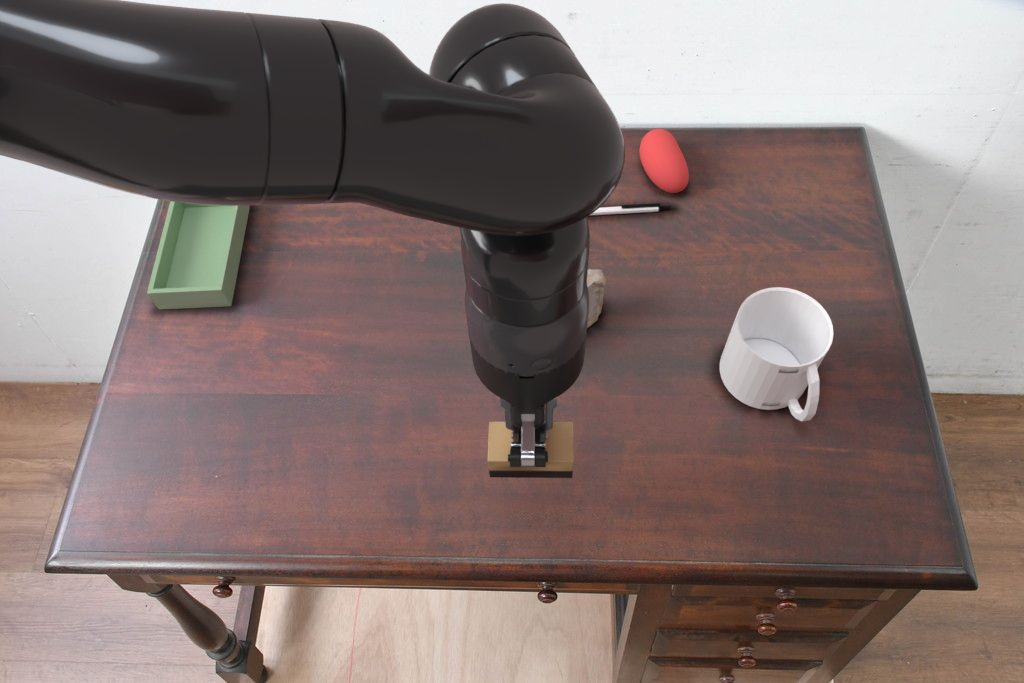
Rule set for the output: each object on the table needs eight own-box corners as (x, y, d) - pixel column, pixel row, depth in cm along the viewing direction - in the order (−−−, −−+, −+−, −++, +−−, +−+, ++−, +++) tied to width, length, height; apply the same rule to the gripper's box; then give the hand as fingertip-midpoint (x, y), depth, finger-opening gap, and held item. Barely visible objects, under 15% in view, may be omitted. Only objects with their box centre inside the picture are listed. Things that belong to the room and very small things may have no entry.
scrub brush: (489, 477, 68) (482, 429, 59) (491, 438, 69) (484, 386, 61) (572, 478, 67) (576, 429, 59) (571, 439, 69) (575, 387, 61)
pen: (670, 212, 96) (671, 206, 95) (512, 221, 96) (512, 215, 95) (669, 206, 97) (670, 200, 96) (512, 215, 97) (512, 209, 96)
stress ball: (633, 202, 99) (659, 183, 93) (628, 133, 100) (653, 111, 94) (669, 205, 101) (697, 187, 95) (664, 138, 102) (690, 116, 96)
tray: (231, 306, 91) (221, 289, 88) (158, 309, 91) (146, 293, 88) (250, 205, 99) (241, 187, 96) (183, 208, 99) (172, 190, 96)
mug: (708, 343, 86) (724, 294, 78) (789, 331, 87) (813, 281, 79) (741, 444, 80) (763, 401, 72) (828, 430, 80) (860, 386, 72)
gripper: (472, 233, 54) (487, 362, 68) (461, 419, 46) (480, 518, 61) (584, 232, 53) (575, 362, 68) (590, 420, 46) (578, 520, 61)
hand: (530, 436), depth 64 cm, fingers closed on scrub brush, 2 cm apart
